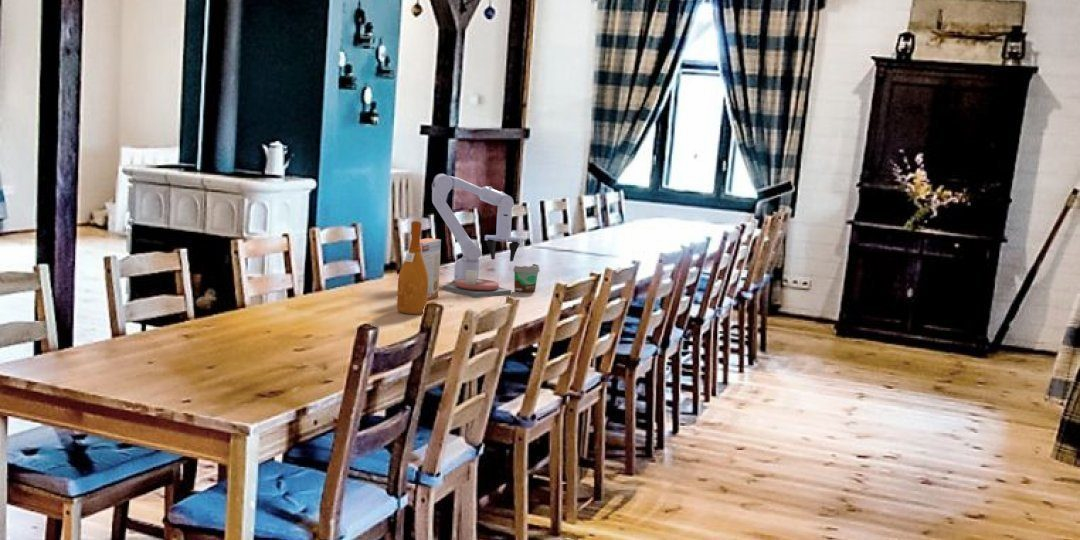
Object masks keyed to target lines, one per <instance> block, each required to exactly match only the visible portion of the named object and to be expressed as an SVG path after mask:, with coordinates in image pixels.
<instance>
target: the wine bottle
mask: <svg viewBox="0 0 1080 540" xmlns="http://www.w3.org/2000/svg"><path fill="white" fill-rule="evenodd" d="M410 226H411V231H410V235H411V241H410V242H411V245H410V249H409V248H408V251H407V252H406V254H405V256H404V261H403V263H402V265H401V267H400V270H399V274H398V280H397V297H396V302H397V303H396V306H397V307H396V308H397V311H398V312H399V313H400V314H401V313H402V314H406V315H422V314H423V313H422V312H423V309H424V306H425V304H426V303H427V302H428V300H427V295H428V273H427V269H426V265H425V263H424V260H423V257H422V254H421V248H420V240H421V238H420V237H421V235H422V222H420V221H418V220H413V221H411V223H410Z"/></svg>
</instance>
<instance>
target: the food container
mask: <svg viewBox="0 0 1080 540" xmlns="http://www.w3.org/2000/svg"><path fill="white" fill-rule="evenodd" d="M513 272H514V276H513V277H514V279H513V280H514V293H518V292H519V293H520V294H534V293H535V292H536V288H537V287H536V286H537V281H538V276H539V275H538V273H540V272H541V271H540V267H539V264H536V263H532V265H529V266H528V265H527V266H526V265H523V266H519V265H514V268H513Z"/></svg>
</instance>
